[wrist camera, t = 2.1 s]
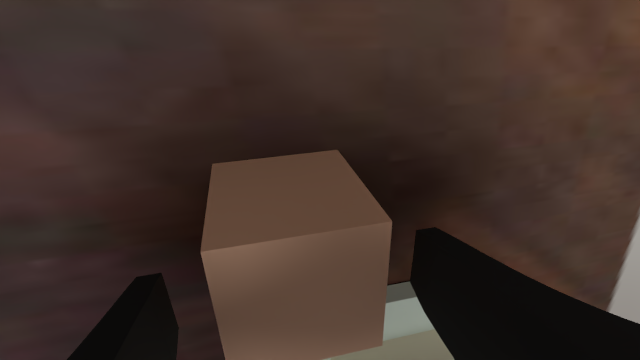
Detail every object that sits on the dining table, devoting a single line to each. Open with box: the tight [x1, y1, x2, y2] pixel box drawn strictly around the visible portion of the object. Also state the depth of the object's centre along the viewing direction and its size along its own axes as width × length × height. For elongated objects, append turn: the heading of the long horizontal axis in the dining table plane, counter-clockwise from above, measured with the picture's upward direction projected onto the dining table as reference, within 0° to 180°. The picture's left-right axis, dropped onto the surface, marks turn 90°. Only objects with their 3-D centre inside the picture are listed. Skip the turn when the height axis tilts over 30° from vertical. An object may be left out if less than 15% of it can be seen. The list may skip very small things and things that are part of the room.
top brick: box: [200, 150, 392, 360], centre depth 11 cm, size 4×4×5 cm
